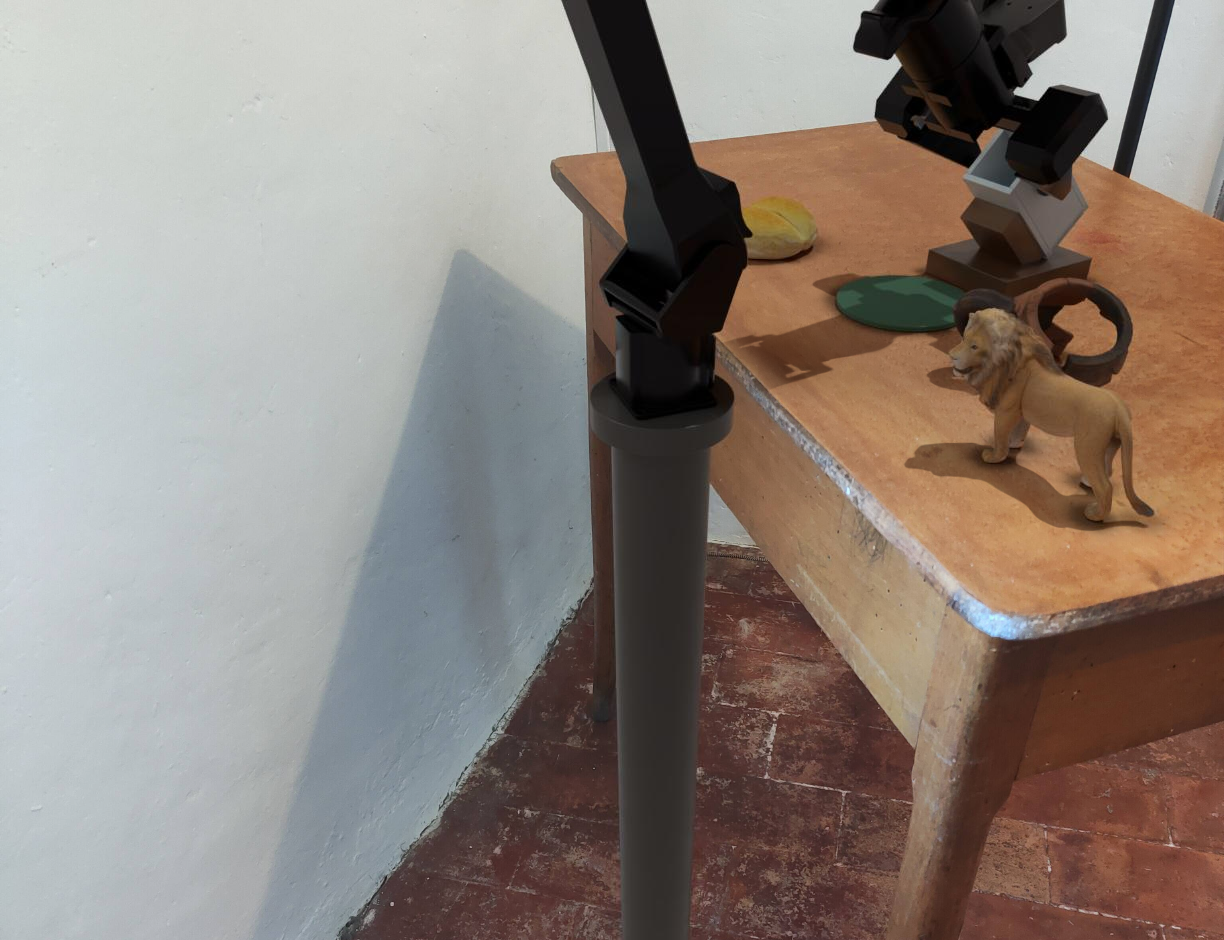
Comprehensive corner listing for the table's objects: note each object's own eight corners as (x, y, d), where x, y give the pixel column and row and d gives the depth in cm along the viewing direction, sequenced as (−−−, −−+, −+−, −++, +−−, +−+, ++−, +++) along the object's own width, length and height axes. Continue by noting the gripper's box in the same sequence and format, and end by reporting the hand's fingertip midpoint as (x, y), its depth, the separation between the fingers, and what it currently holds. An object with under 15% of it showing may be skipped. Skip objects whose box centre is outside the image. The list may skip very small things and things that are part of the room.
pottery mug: (1098, 359, 80) (1157, 288, 72) (1071, 460, 76) (1131, 397, 69) (946, 304, 81) (989, 229, 73) (913, 402, 77) (954, 333, 70)
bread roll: (701, 247, 99) (702, 203, 96) (764, 224, 104) (767, 182, 101) (769, 270, 94) (772, 224, 92) (832, 245, 99) (836, 201, 96)
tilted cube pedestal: (1001, 305, 87) (1019, 225, 83) (924, 271, 93) (937, 195, 89) (1086, 281, 91) (1107, 202, 87) (1007, 250, 97) (1023, 175, 93)
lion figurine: (918, 443, 70) (942, 312, 64) (968, 418, 72) (995, 289, 67) (1127, 540, 60) (1176, 396, 55) (1175, 507, 63) (1226, 366, 57)
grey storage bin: (1003, 277, 86) (1031, 148, 80) (938, 250, 92) (960, 127, 85) (1088, 254, 90) (1121, 128, 84) (1022, 229, 95) (1048, 109, 89)
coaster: (880, 340, 82) (881, 336, 82) (812, 290, 90) (812, 286, 90) (1000, 319, 85) (1001, 314, 85) (924, 272, 93) (924, 267, 93)
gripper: (1128, -40, 68) (1188, 119, 79) (924, -67, 81) (1000, 73, 92) (1013, 110, 70) (1087, 245, 81) (832, 61, 83) (917, 183, 94)
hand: (1020, 180), depth 87 cm, fingers open, 9 cm apart
